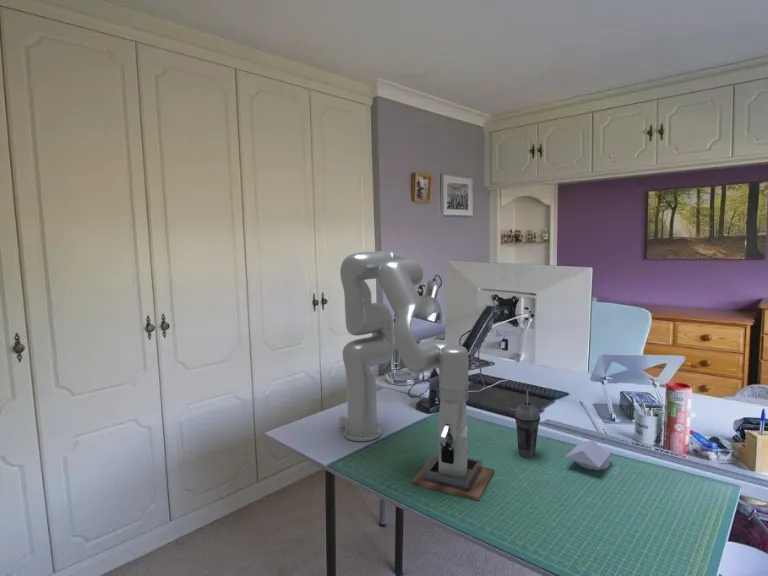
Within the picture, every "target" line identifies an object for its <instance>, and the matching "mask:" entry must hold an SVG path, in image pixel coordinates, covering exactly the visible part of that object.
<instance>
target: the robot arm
mask: <svg viewBox="0 0 768 576" xmlns="http://www.w3.org/2000/svg"><path fill="white" fill-rule="evenodd" d="M423 271H424V270H423V268H422V266H421V265H420V263H419V262H418V261H417V260H416V259H414V258H411V257H409V256H407V255H403V254H400V253H397V252H395V251H390V250H379V251H378V250H377V251H376V250H375V251H362V252H355V253H352V254H349V255H348V256H346V257H345V258H344V259H343V260H342V261H341V265H340V271H339V273H340V280H341V284H342V285H341V286H342V288H343V293H344V294H343V295H344V314H345V315H344V318H345V327H346V330H347V332H348V334H350V335H352V336H365V335H370V334H371V336H367V337H362V338H358V339H353V340H351V341H350V342H347V343H346V345H344V347H343V349H342V360H343V364H344V369H345V378H346V397H347V398H346V399H347V402H346V403H347V416H343V415H342V416H341V415H340V417H339V419H338V420H339V421H338V425H340V426H344V429H343V436H344V438H346V439H347V440H349V441H353V442H360V443H361V442H368V441H374V440H376V439H379V437H381V435H382V434H383V429H382V427H381V426H380V425H378V412H377V411H378V410H377V409H378V407H377V406H378V405H377V402H378V400H377V380H376V377H375V376H374V374H373V372H372V371H371V368H372V367H375V366H378V365H383V364H384V363H387V362H390V360H391V359H393V358H392V357H393V355H394V346H395V348H396V351H397V353H398V355H399V357H400V359H401V361H402V363H403V364H404V366H405V367H406V369H408V370H409V371H410V372H412V373H414V374H421V373H424V372H428V371H431V370H434V369H439V370H438V373H439V374H438V375H439V378H438V379H439V382H438V384H439V386H438V387H439V390H438V391H439V397H438V398H439V400H440V404H439V411H438V424H437V425H438V427H437V428H438V430H437V435H438V438H439V437H440V440H441V443H440V444H441V461H442V462H444V463H448V464H453V463H454V449H452V448H453V443H454V440H456V439H457V438H458V435H459V434H460V433H461V432H462V430H463V429H464V428H465V426H467V402H468V400H469V351H468V349H467V348H466V347H465V346H462V345H458V344H452V343H449V342H448V341H446V340H443V339H440V338H438V339H433V340H428V341H424V342H420V343H417V341H416V339H415V337H414V335H413V332H412V327H411V326H412V325H411V324H412V319H413V318H414V316H415V315H416V314H418V313H419V312H420V311H421V310H422V308H423V305H424V304H423V300H422V298H421V296H420V294H419V293H418V291H417V289H416V286H418V285H420V284H421V283H422V281H423V279H424V272H423ZM374 279H375V280H376V279H377V280H378V282H379V285H380V287H381V288H382V291H383V293H384V295H385V297H386V299H387V301H388V303H389V305H390V307H391V308H392V311H393V313H394V315H395V320H394V322H393V315H392V312H391V310H390V308H389V307H388V306H387V305H386V304H385V303H383V302H373V303H372V291H371V289H370V287H369V285H368V283H367V282H366V280H367V281H368V280H374ZM448 434H449V435H452V437H449V436H448ZM447 440H451V441H450V444H449V443H448V442H447Z"/></svg>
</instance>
